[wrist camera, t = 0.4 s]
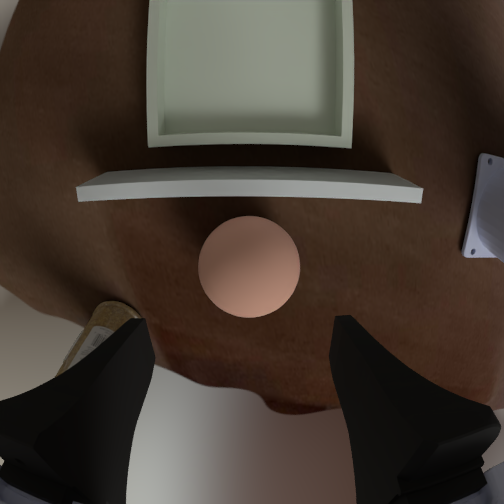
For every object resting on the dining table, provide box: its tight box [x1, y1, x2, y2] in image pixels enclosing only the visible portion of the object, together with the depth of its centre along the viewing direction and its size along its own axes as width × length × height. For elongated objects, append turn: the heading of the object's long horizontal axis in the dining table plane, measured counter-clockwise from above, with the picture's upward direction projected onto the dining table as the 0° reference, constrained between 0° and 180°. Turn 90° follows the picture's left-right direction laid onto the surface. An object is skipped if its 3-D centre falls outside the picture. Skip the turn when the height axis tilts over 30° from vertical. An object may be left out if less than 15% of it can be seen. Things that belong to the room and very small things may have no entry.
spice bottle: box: [55, 301, 141, 377], centre depth 17 cm, size 5×5×14 cm
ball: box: [198, 216, 300, 317], centre depth 18 cm, size 6×6×6 cm
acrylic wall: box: [76, 166, 423, 203], centre depth 16 cm, size 18×1×4 cm, turn 90°
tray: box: [147, 0, 354, 148], centre depth 14 cm, size 11×11×2 cm
